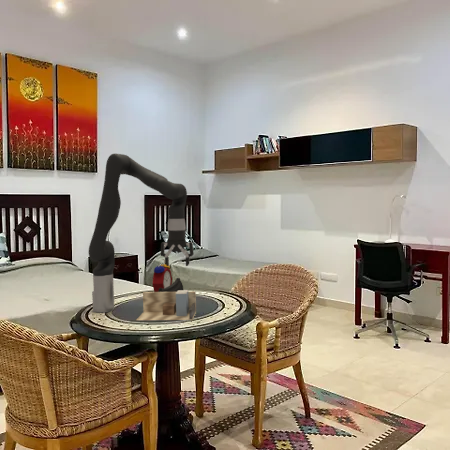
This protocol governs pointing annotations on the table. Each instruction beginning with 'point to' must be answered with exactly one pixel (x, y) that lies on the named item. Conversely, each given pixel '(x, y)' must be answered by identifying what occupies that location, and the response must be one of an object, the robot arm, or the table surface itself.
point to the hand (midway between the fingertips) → (177, 265)
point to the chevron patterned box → (165, 306)
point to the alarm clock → (161, 277)
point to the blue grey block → (182, 303)
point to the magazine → (173, 287)
